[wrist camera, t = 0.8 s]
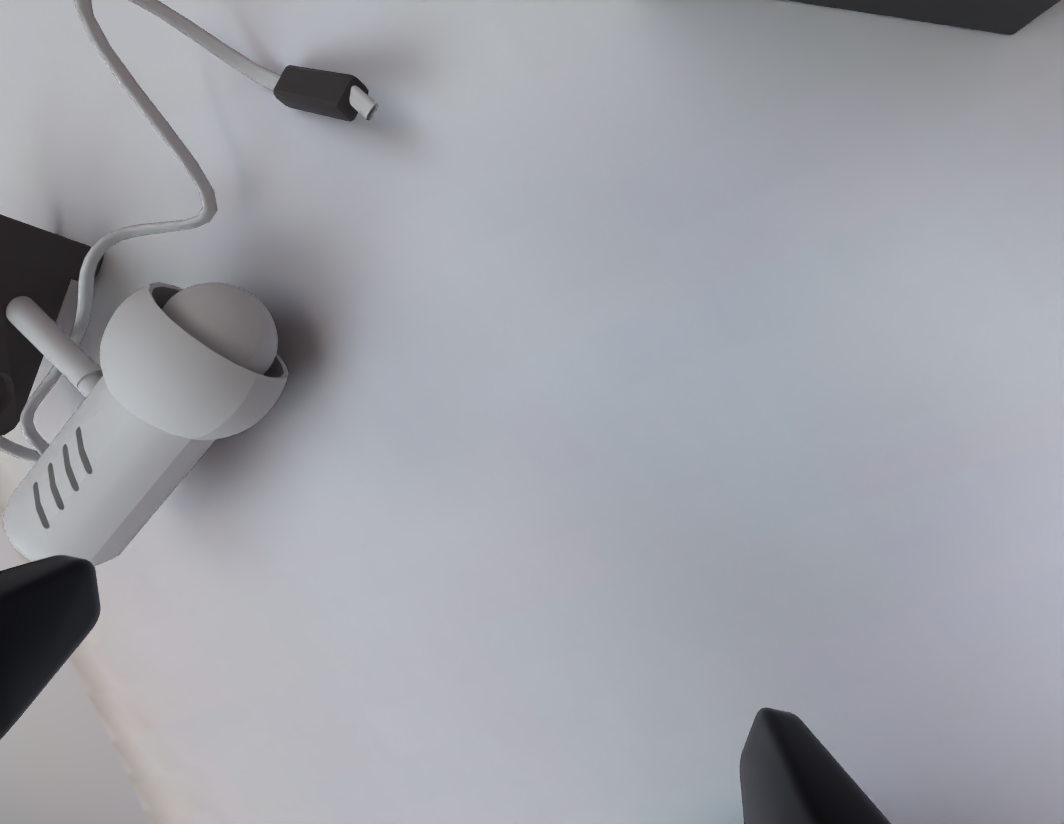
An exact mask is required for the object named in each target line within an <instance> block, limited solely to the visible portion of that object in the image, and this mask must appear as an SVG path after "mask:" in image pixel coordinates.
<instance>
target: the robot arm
mask: <svg viewBox="0 0 1064 824" xmlns="http://www.w3.org/2000/svg"><path fill="white" fill-rule="evenodd" d="M99 615H100V600H99V593H98V586H97V578H96V571H95V567H94V565H93V564H92V563H91V562H90V561H88V560H86V559H82V558H77V557H73V556H68V555H54V556H51V557H47V558H44V559H40V560H37V561H33V562H30V563H26V564H23V565H20V566H16V567H13V568H9V569H6V570H3V571H0V740H1V738H2V737H3V736H4V735H5V734H6V733H7V732H8V731H9V729H10V728H11V727H12V726H13V725H14V724H15V722H16V721H17V720H18V719H19V718H20V717H21V715H22V714H23V713H24V711H26V709H27V708H28V707H29V706H30V704H31V703H32V702H33V701H34V700H35V698H36V697H37V696H38V695H39V693H40V692H41V691H42V690H43V688H44V687H45V686H46V685H47V684H48V682H49V681H50V680H51V679H52V678H53V676H54V675H55V674H56V673H57V671H58V670H59V669H60V668H61V666H62V665H63V664H64V663H65V662H66V660H67V659H68V658H69V657H70V656H71V654H72V653H73V652H74V651H75V649H76V648H77V647H78V646H79V645H80V643H81V642H82V641H83V640H84V638H85V637H86V636H87V635H88V634H89V632H90V631H91V630H92V629H93V627H94V626H95V624H96V622H97V620H98V617H99ZM740 781H741V792H742V803H743V815H744V824H891V823H890V822H889V821H888V820H887V818H886V817H885V816H884V815H883V814H882V813H881V812H880V810H879V809H878V808H877V807H876V806H875V805H874V803H873V802H872V801H871V800H870V799H869V798H868V797H867V795H866V794H865V793H864V792H863V791H862V790H861V789H860V787H859V786H858V785H857V784H856V783H855V782H854V780H853V779H852V778H851V777H850V776H849V775H848V774H847V772H846V771H845V770H844V769H843V768H842V767H841V766H840V764H839V763H838V762H837V761H836V760H835V759H834V758H833V756H832V755H831V754H830V753H829V752H828V751H827V749H826V748H825V747H824V746H823V745H822V744H821V743H820V741H819V740H818V739H817V738H816V737H815V736H814V735H813V733H812V732H811V731H810V730H809V729H808V728H807V726H806V725H805V724H804V723H803V722H802V721H801V720H800V719H799V718H798V717H797V716H796V715H794V714H792V713H789V712H785V711H780V710H775V709H771V708H762V709H760V710H759V711H758V713H757V715H756V717H755V720H754V722H753V725H752V727H751V730H750V733H749V735H748V738H747V741H746V743H745V746H744V749H743V751H742V755H741V760H740Z"/></svg>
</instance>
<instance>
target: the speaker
mask: <svg viewBox="0 0 1064 824" xmlns="http://www.w3.org/2000/svg"><path fill="white" fill-rule="evenodd" d="M790 1H796V2H803V3H809V4H816V5H822V6H829V7H835V8H841V9H848V10H854V11H861V12H867V13H873V14H880V15H886V16H893V17H899V18H906V19H912V20H918V21H925V22H931V23H938V24H944V25H950V26H957V27H963V28H970V29H976V30H983V31H989V32H995V33H1002V34H1008V35H1012V34H1015V33H1016V32H1018V31H1019V30H1020V29H1022V28H1023V27H1024V26H1026V25H1027V24H1028V23H1030V22H1031V21H1033V20H1034V19H1035V18H1037V17H1038V16H1039V15H1041V14H1042V13H1044V12H1045V11H1046V10H1048V9H1049V8H1050V7H1052V6H1053V5H1054V4H1056V3H1057V2H1059V1H1060V0H790Z"/></svg>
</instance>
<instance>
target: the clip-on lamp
mask: <svg viewBox="0 0 1064 824" xmlns="http://www.w3.org/2000/svg"><path fill="white" fill-rule="evenodd" d="M130 1H131V2H133V3H135V4H137V5H138V6H140V7H142V8H144V9H145V10H147V11H149V12H151V13H152V14H154V15H156V16H158V17H159V18H161V19H162V20H164V21H165V22H167V23H168V24H170V25H171V26H173V27H174V28H176V29H177V30H179V31H180V32H182V33H183V34H185V35H186V36H188V37H189V38H191V39H192V40H194V41H195V42H197V43H198V44H200V45H201V46H202V47H204V48H205V49H207V50H208V51H210V52H211V53H213V54H214V55H216V56H217V57H218V58H220V59H221V60H223V61H224V62H226V63H227V64H229V65H230V66H232V67H233V68H235V69H236V70H238V71H239V72H241V73H242V74H244V75H246V76H247V77H249V78H250V79H252V80H253V81H255V82H257V83H259V84H261V85H263V86H265V87H267V88H268V89H270V90H272V91H274V95H275V96H276V98H277V99H278V100H279V101H281V102H282V103H283V104H284V105H286V106H288V107H291V108H295V109H299V110H304V111H308V112H312V113H316V114H320V115H325V116H329V117H333V118H337V119H342V120H346V121H350V122H351V121H353V120H354V119H355V117H356V116H357V114H358V112H359V113H360V114H361V115H362V116H363V117H364V118H365V119H366V120H370V119H372V117H373V116H374V114H375V113H376V111H377V109H378V104H377V103H375V102H374V101H373V100H372V99H371V98H370V97H369V96H368V89H367V88H366V86H365V85H364V84H363V83H362V82H361V81H360V80H359V79H358V78H357V77H355V76H353V75H349V74H343V73H336V72H330V71H324V70H317V69H311V68H305V67H298V66H292V65H289V66H287V67H286V68H285V69H284V71H283V73H282V75H278V74H276V73H274V72H272V71H270V70H268V69H266V68H264V67H262V66H259V65H257V64H256V63H254V62H253V61H251V60H250V59H248V58H246V57H245V56H243V55H242V54H240V53H239V52H237V51H235V50H234V49H232V48H231V47H229V46H228V45H226V44H225V43H223V42H222V41H220V40H219V39H217V38H216V37H214V36H213V35H211V34H210V33H208V32H207V31H205V30H204V29H202V28H201V27H199V26H198V25H196V24H195V23H193V22H192V21H190V20H188V19H187V18H185V17H184V16H182V15H180V14H179V13H177V12H176V11H174V10H172V9H171V8H169V7H168V6H166V5H165V4H163V3H161V2H160V1H158V0H130ZM74 7H75V9H76V11H77V13H78V16H79V18H80V20H81V22H82V24H83V26H84V28H85V31H86V33H87V35H88V37H89V39H90V41H91V43H92V44H93V45H94V47H95V48H96V50H97V51H98V53H99V54H100V56H101V57H102V59H103V60H104V61H105V63H106V64H107V66H108V67H109V69H110V70H111V72H112V73H113V75H114V76H115V77H116V79H117V80H118V82H119V83H120V84H121V86H122V87H123V88H124V90H125V91H126V92H127V93H128V95H129V96H130V97H131V99H132V100H133V101H134V102H135V104H136V105H137V106H138V108H139V109H140V110H141V111H142V113H143V114H144V115H145V117H146V118H147V119H148V120H149V122H150V123H151V124H152V126H153V127H154V128H155V129H156V131H157V132H158V133H159V135H160V136H161V137H162V138H163V140H164V141H165V142H166V144H167V145H168V146H169V147H170V149H171V150H172V151H173V153H174V154H175V155H176V156H177V158H178V159H179V160H180V162H181V163H182V165H183V166H184V168H185V169H186V171H187V172H188V174H189V175H190V177H191V178H192V180H193V181H194V183H195V185H196V186H197V188H198V189H199V193H200V196H201V200H202V203H203V208H202V209H201V211H200V213H199V215H197V216H195V217H192V218H189V219H187V220H179V221H171V222H159V223H148V224H139V225H133V226H128V227H124V228H121V229H118V230H115V231H112V232H110V233H109V234H107V235H105V236H104V237H102V238H100V239H99V240H98V241H97V242H96V243H95V244H94V245H93V246H92V247H90V246H87V245H85V244H82V243H79V242H76V241H73V240H71V239H68V238H65V237H62V236H59V235H57V234H54V233H51V232H48V231H45V230H42V229H40V228H37V227H34V226H31V225H28V224H26V223H23V222H20V221H17V220H14V219H12V218H9V217H6V216H3V215H0V451H2V452H5V453H7V454H10V455H12V456H14V457H17V458H20V459H23V460H26V461H29V462H33V463H36V464H35V465H34V466H33V467H32V469H31V470H30V471H29V473H28V474H27V475H26V477H25V478H24V479H23V481H22V482H21V483H20V484H19V486H18V487H17V488H16V490H15V491H14V492H13V494H12V495H11V497H10V499H9V501H8V504H7V506H6V508H5V510H4V512H3V514H2V515H3V522H4V529H5V533H6V535H7V537H8V539H9V540H10V542H11V543H12V545H13V546H14V548H15V549H17V550H18V551H19V552H20V553H21V554H23V555H24V556H25V557H26V558H28V559H29V560H31V561H37V560H40V559H44V558H47V557H51V556H54V555H68V556H73V557H77V558H82V559H86V560H88V561H90V562H91V563H92V564H93V565H94V566H96V565H99V564H101V563H104V562H106V561H108V560H111V559H113V558H115V557H116V556H118V555H120V554H121V552H122V551H123V550H124V549H125V548H126V546H127V545H128V544H129V543H130V542H131V540H132V539H133V538H134V537H135V536H136V534H137V533H138V532H139V531H140V530H141V528H142V527H143V526H144V525H145V524H146V522H147V521H148V520H149V519H150V518H151V516H152V515H153V514H154V513H155V512H156V510H157V509H158V508H159V507H160V506H161V505H162V503H163V502H164V501H165V500H166V499H167V497H168V496H169V495H170V494H171V493H172V491H173V490H174V489H175V488H176V487H177V485H178V484H179V483H180V482H181V481H182V479H183V478H184V477H185V476H186V475H187V473H188V472H189V471H190V470H191V469H192V467H193V466H194V465H195V464H196V463H197V462H198V460H199V459H200V458H201V457H202V456H203V454H204V453H205V452H206V451H207V450H208V448H209V447H210V446H211V445H212V444H213V442H214V441H215V440H216V439H220V438H225V437H229V436H232V435H235V434H238V433H240V432H242V431H244V430H246V429H248V428H250V427H252V426H253V425H254V424H256V423H257V422H258V421H260V420H261V419H262V418H263V417H264V416H265V415H266V414H267V413H268V412H269V411H270V409H271V408H272V407H273V406H274V404H275V403H276V401H277V400H278V398H279V397H280V396H281V393H282V391H283V389H284V387H285V385H286V381H287V377H288V371H287V367H286V365H285V363H284V362H283V361H282V359H281V358H280V356H279V355H278V354H277V353H276V352H277V349H278V335H277V330H276V326H275V323H274V320H273V318H272V316H271V314H270V313H269V311H268V310H267V308H266V307H265V306H264V305H263V304H262V303H261V302H260V301H259V300H258V299H257V298H256V297H255V296H253V295H252V294H250V293H249V292H247V291H245V290H243V289H241V288H238V287H235V286H232V285H229V284H224V283H204V284H198V285H194V286H191V287H187V288H185V289H181V288H179V287H176V286H173V285H169V284H164V283H160V282H159V283H152V284H149V285H147V286H145V287H143V288H141V289H139V290H137V291H136V292H134V293H133V294H132V295H130V296H129V297H128V298H126V299H125V300H124V302H123V303H122V304H121V305H120V306H119V307H118V308H117V309H116V311H115V312H114V314H113V316H112V317H111V319H110V321H109V323H108V325H107V327H106V330H105V332H104V335H103V337H102V340H101V347H100V366H101V367H100V366H99V365H98V364H97V363H96V362H95V361H94V360H93V359H92V358H91V357H90V356H89V355H88V354H87V353H86V352H85V351H84V350H83V349H82V348H81V347H80V346H79V344H80V343H81V341H82V339H83V337H84V334H85V331H86V329H87V326H88V324H89V321H90V316H91V312H92V305H93V286H94V278H95V277H96V274H97V272H98V269H99V267H100V264H101V262H102V258H103V256H102V255H103V254H104V253H105V252H106V251H107V250H108V249H109V248H110V247H111V246H113V245H115V244H116V243H118V242H120V241H123V240H126V239H129V238H132V237H137V236H143V235H149V234H157V233H165V232H174V231H181V230H186V229H192V228H196V227H199V226H201V225H203V224H206V223H208V222H210V221H211V219H212V218H213V216H214V215H215V213H216V212H217V204H216V198H215V193H214V190H213V188H212V186H211V185H210V183H209V181H208V179H207V178H206V176H205V174H204V173H203V171H202V169H201V168H200V166H199V164H198V163H197V161H196V160H195V158H194V157H193V156H192V154H191V153H190V152H189V150H188V149H187V148H186V146H185V145H184V144H183V142H182V141H181V140H180V138H179V137H178V135H177V134H176V133H175V131H174V130H173V129H172V127H171V126H170V125H169V123H168V122H167V121H166V120H165V118H164V117H163V116H162V114H161V113H160V112H159V111H158V109H157V108H156V107H155V105H154V104H153V103H152V102H151V100H150V99H149V98H148V96H147V95H146V94H145V92H144V91H143V90H142V89H141V87H140V86H139V85H138V83H137V82H136V81H135V79H134V78H133V76H132V75H131V74H130V72H129V71H128V70H127V68H126V67H125V65H124V64H123V63H122V61H121V60H120V58H119V57H118V56H117V54H116V53H115V52H114V50H113V49H112V47H111V46H110V44H109V42H108V41H107V39H106V37H105V35H104V33H103V31H102V30H101V28H100V26H99V24H98V22H97V21H96V19H95V17H94V14H93V9H92V3H91V0H74ZM71 279H73V280H77V281H79V282H78V305H77V313H76V318H75V323H74V325H73V328H72V331H71V334H70V336H68V335H67V334H66V333H65V332H64V331H63V330H62V329H61V328H60V327H59V326H58V325H57V324H56V323H55V322H56V319H57V317H58V314H59V311H60V308H61V306H62V303H63V300H64V297H65V295H66V292H67V289H68V286H69V284H70V281H71ZM43 355H44V356H45V357H46V358H47V359H48V360H49V361H50V362H51V363H52V364H53V365H54V366H53V367H52V369H51V370H50V371H49V373H48V374H47V376H46V377H45V379H44V380H43V381H42V383H41V384H40V385H39V387H38V388H37V389H36V391H35V392H34V393H33V395H32V396H31V397H30V399H29V400H28V401H27V399H28V397H29V394H30V391H31V388H32V386H33V383H34V380H35V377H36V375H37V372H38V369H39V366H40V364H41V361H42V358H43ZM62 374H63V375H64V376H65V377H66V378H67V380H69V381H70V382H71V383H72V384H73V385H74V386H75V387H76V388H77V389H78V390H79V391H80V392H81V393H82V395H83V396H84V397H85V400H84V401H83V402H82V403H81V405H80V406H79V407H78V409H77V410H76V411H75V413H74V414H73V415H72V417H71V418H70V419H69V420H68V422H67V423H66V424H65V426H64V427H63V428H62V430H61V431H60V432H59V434H58V435H57V436H56V437H55V439H54V440H53V441H52V443H51V444H50V445H49V444H48V443H47V442H46V441H45V440H44V439H43V438H42V437H41V436H40V435H39V433H38V432H37V431H36V429H35V426H34V424H33V418H34V413H35V411H36V409H37V407H38V405H39V404H40V403H41V401H42V400H43V399H44V397H45V396H46V395H47V393H48V392H49V391H50V389H51V388H52V387H53V386H54V384H55V383H56V382H57V380H58V379H59V377H60V376H61V375H62ZM26 402H27V403H26ZM19 421H20V423H19V424H20V427H21V430H22V432H23V434H24V436H25V437H26V439H27V440H28V442H29V443H30V444H31V445H32V446H33V447H34V448H35V450H36V451H35V450H32V449H29V448H26V447H23V446H21V445H19V444H16V443H14V442H12V441H10V440H8V439H6V438H4V437H2V436H1V435H5V434H7V433H8V432H10V431H11V430H13V429H14V428H15V427H16V425H17V424H18V422H19Z"/></svg>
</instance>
